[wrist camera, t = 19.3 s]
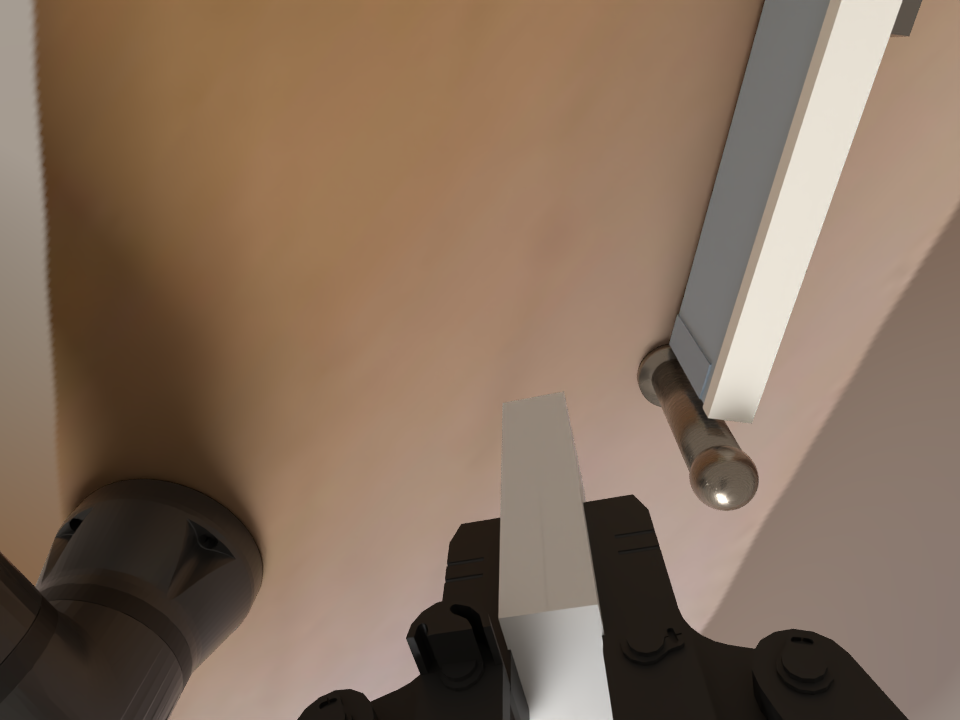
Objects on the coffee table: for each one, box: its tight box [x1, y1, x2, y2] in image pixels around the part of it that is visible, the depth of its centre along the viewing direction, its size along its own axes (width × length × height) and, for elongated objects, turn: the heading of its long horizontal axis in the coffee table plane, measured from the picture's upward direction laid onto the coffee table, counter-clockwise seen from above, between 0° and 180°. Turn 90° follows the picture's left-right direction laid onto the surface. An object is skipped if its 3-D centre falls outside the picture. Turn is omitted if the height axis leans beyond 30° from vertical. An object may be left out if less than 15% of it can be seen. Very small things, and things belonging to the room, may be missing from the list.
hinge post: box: [637, 344, 759, 511], centre depth 36 cm, size 4×4×13 cm
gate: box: [669, 0, 902, 424], centre depth 31 cm, size 22×2×9 cm, turn 173°
